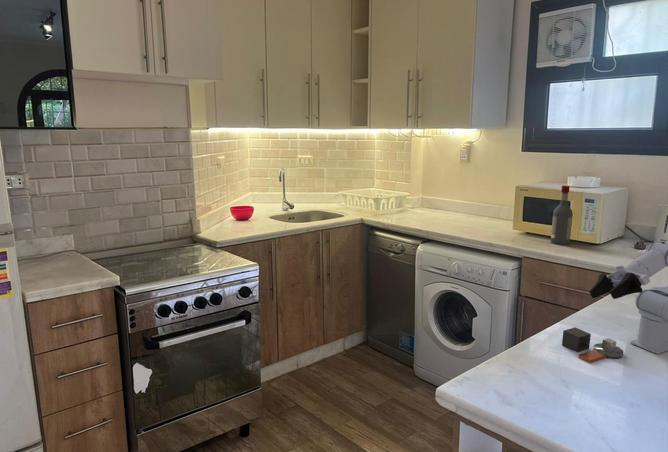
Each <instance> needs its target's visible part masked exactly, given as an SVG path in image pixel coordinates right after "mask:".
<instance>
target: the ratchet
mask: <svg viewBox="0 0 668 452" xmlns="http://www.w3.org/2000/svg"><path fill="white" fill-rule="evenodd" d="M577 357H578V359H580V360H582V361H584V362H587V363H589V364H592V363H596V362H599V361H601V360H605V359H610V360H611V359H612V360H620V359H622V358H623V357H624V350H623V349H622V348H621V347H619V346H617V341H616V340H614V339H611V338H609V337H608V338H604V339H602V342H600V343H595V344H594V345H593V349H592V350H588V351H585V352H583V353H579V354H578V356H577Z"/></svg>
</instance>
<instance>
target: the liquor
mask: <svg viewBox="0 0 668 452" xmlns="http://www.w3.org/2000/svg"><path fill="white" fill-rule="evenodd" d="M560 192H561V198H560V203H559V205H557V206H556V207H555V208H554V210H553V215H552V223H551V234H550V243H551V244H555V245H563V246H566V245H567V246H568V245H569V244H570V242H571V233H572V227H573V226H572V225H573V217H574V216H573V213H574V212H573V210H572V209H571V207H570V206H569V204H568V203H569V202H568V201H569V192H570V185H561V190H560Z"/></svg>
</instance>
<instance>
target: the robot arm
mask: <svg viewBox="0 0 668 452" xmlns="http://www.w3.org/2000/svg"><path fill="white" fill-rule="evenodd" d="M666 267H668V242H667V243H662V242H655V243H654V242H650V244H649V245H648V246H647V248H646V250H645V251H644V252H642V254H641V255H640V256H639V257H637V258H636V259H635V258H634V259H633V260H632V261H631V262H630V263H628V264H626V265H622V264H619V265H616V266H615V268H616V270H615V271H614V272H612V273H611V274H608V275H607V274H606V273H601V274H599V275H598V278H597V281H596V282H595V284H594V285H593V286H592V287H591V288H590V290H589V294H590V296H591V298H592V299H596V298H599V297H601V296H604V295H605V294H608V293H609V294H610V296H611V298H612V299H613V300H616V299H620V298H622V297H626V296H629V295H633V294H637V295H636V298H635V306H636V308H637V310H638V314H640V319H639V320H640V321H639V326H638V332H637V333H638V334H637V338H636V339H633V340H630V341H629V343H630V345H631V344H632V345H634V346H636V347H639V348H641V349H644V350H647V351H649V352H651V353H654V354H656V355H659V354H662V353H665V352H667V351H668V285H667V286H652V287H651V288H647V289H643V288H642V286H646V285H648V284H649V283H651V280H650V278H651V277H653V276H655V274H657V273H658V272H660V271H661V270H663V269H665V268H666Z"/></svg>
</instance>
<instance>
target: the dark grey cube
mask: <svg viewBox="0 0 668 452" xmlns="http://www.w3.org/2000/svg"><path fill="white" fill-rule="evenodd" d="M591 336H592V333H590V332H587V331H584V330H582V329H580V328H577V327H572V328H568V329H563V332H562V338H561V339H562V340H561V346H563V347H565V348H566V349H569V350H571V351H573V352H575V351H576V352H575V353H580V352H583V351H586V350H589V349H590V342H591Z"/></svg>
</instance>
